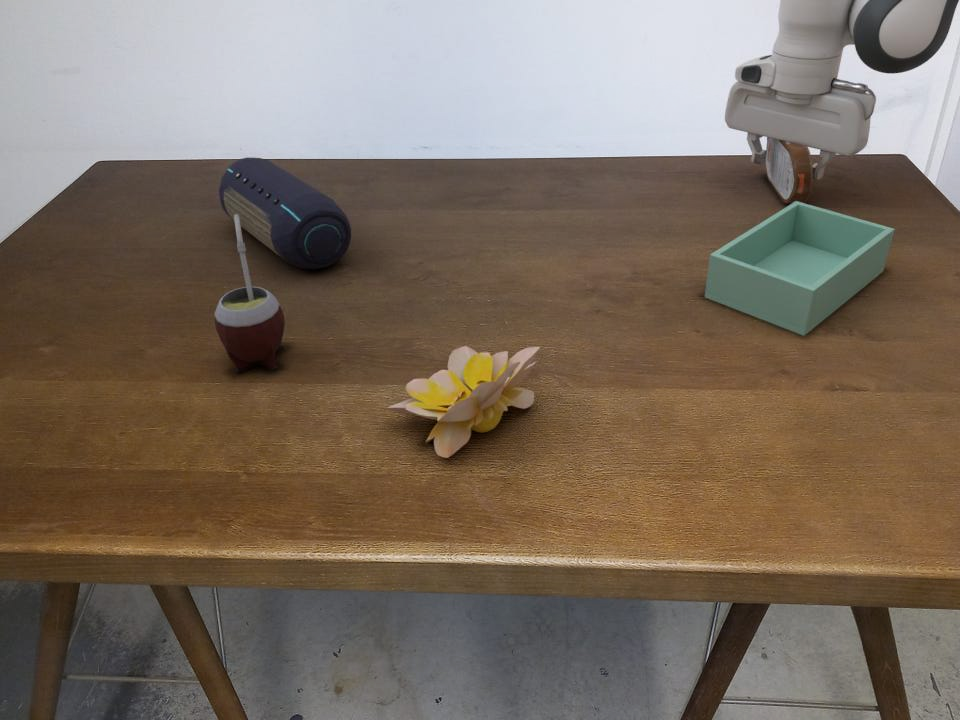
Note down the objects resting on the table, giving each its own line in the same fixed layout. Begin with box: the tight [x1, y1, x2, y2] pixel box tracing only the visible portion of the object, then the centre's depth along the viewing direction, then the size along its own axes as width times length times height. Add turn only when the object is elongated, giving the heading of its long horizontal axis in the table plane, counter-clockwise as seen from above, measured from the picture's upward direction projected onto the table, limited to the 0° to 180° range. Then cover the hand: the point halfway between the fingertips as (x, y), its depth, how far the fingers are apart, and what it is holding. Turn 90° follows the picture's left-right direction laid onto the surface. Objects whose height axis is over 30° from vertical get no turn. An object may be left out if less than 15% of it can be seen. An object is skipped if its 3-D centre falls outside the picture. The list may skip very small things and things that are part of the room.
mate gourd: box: [214, 214, 286, 375], centre depth 86 cm, size 8×8×15 cm
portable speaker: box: [218, 156, 352, 270], centre depth 110 cm, size 25×10×10 cm, turn 37°
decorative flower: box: [383, 345, 541, 459], centre depth 77 cm, size 15×11×10 cm
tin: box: [764, 137, 814, 205], centre depth 118 cm, size 15×3×8 cm, turn 179°
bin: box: [704, 201, 895, 336], centre depth 96 cm, size 20×13×6 cm, turn 134°
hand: (785, 170), depth 119 cm, fingers open, 8 cm apart
